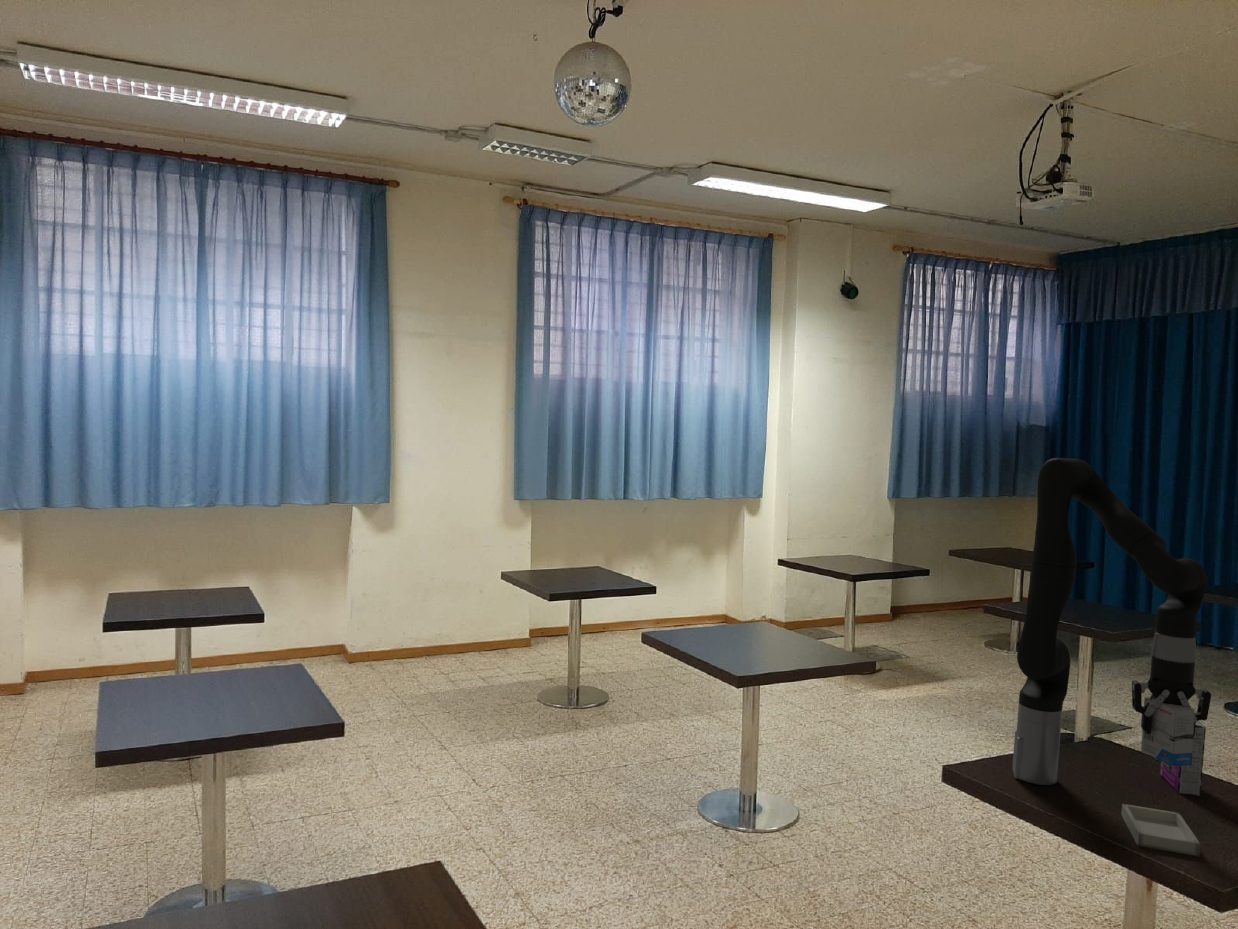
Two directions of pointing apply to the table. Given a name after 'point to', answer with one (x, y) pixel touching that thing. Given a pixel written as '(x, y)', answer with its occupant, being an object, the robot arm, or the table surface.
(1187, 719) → the ink box
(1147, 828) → the tray
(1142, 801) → the table surface
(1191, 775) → the candy bar box
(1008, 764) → the table surface
